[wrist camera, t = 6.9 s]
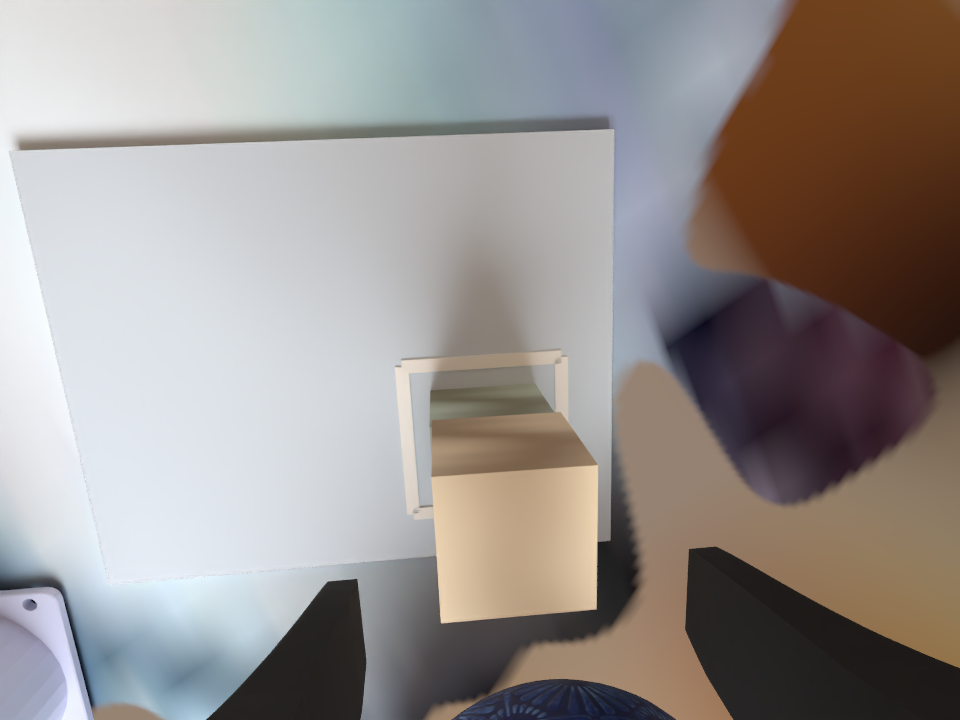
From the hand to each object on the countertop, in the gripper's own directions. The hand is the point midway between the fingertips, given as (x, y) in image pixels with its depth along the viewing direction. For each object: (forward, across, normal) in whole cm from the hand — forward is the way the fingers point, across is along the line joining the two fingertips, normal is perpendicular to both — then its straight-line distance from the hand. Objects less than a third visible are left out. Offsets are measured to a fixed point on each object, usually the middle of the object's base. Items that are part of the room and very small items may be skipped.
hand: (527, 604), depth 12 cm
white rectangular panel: (+10, +5, -3) cm, 12 cm away
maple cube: (+6, 0, 0) cm, 6 cm away
